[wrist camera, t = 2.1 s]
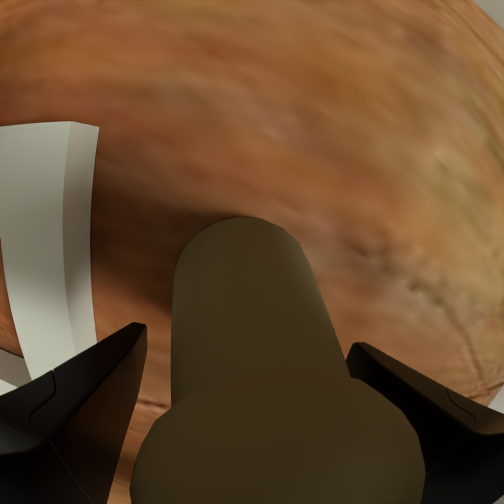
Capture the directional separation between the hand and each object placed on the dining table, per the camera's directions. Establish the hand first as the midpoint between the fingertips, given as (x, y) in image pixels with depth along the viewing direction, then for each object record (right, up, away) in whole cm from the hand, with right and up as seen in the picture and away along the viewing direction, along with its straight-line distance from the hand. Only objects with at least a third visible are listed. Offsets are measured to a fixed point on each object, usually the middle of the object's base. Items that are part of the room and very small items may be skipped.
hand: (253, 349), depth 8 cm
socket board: (-16, +1, +3) cm, 16 cm away
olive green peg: (-1, +1, +5) cm, 5 cm away
